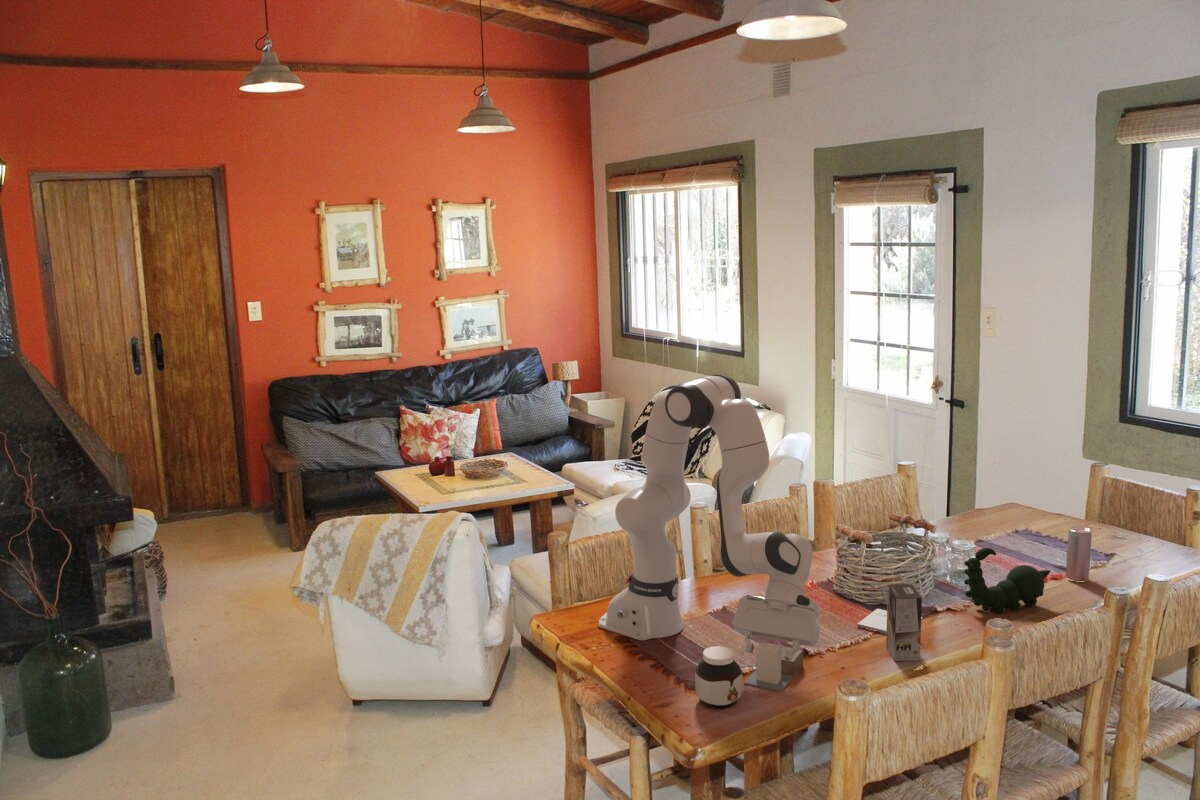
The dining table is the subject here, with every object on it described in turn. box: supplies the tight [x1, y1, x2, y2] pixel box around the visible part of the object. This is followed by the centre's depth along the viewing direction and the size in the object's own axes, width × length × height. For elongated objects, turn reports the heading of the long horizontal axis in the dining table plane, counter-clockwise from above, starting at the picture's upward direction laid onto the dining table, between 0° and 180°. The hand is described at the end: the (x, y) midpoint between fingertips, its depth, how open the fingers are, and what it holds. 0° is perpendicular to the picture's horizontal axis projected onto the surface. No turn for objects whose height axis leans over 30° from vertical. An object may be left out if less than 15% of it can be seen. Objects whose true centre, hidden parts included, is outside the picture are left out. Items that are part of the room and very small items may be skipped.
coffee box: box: [885, 583, 923, 662], centre depth 247 cm, size 9×6×16 cm
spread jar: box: [694, 645, 743, 710], centre depth 228 cm, size 12×11×12 cm
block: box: [755, 642, 781, 684], centre depth 235 cm, size 5×3×8 cm, turn 60°
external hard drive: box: [856, 608, 887, 635], centre depth 266 cm, size 2×8×12 cm
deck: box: [766, 642, 804, 678], centre depth 242 cm, size 9×7×4 cm
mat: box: [743, 669, 794, 693], centre depth 236 cm, size 9×8×1 cm
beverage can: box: [1065, 525, 1093, 581], centre depth 289 cm, size 6×6×15 cm
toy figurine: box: [963, 547, 1051, 614], centre depth 271 cm, size 9×19×25 cm
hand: (768, 655), depth 234 cm, fingers open, 8 cm apart
